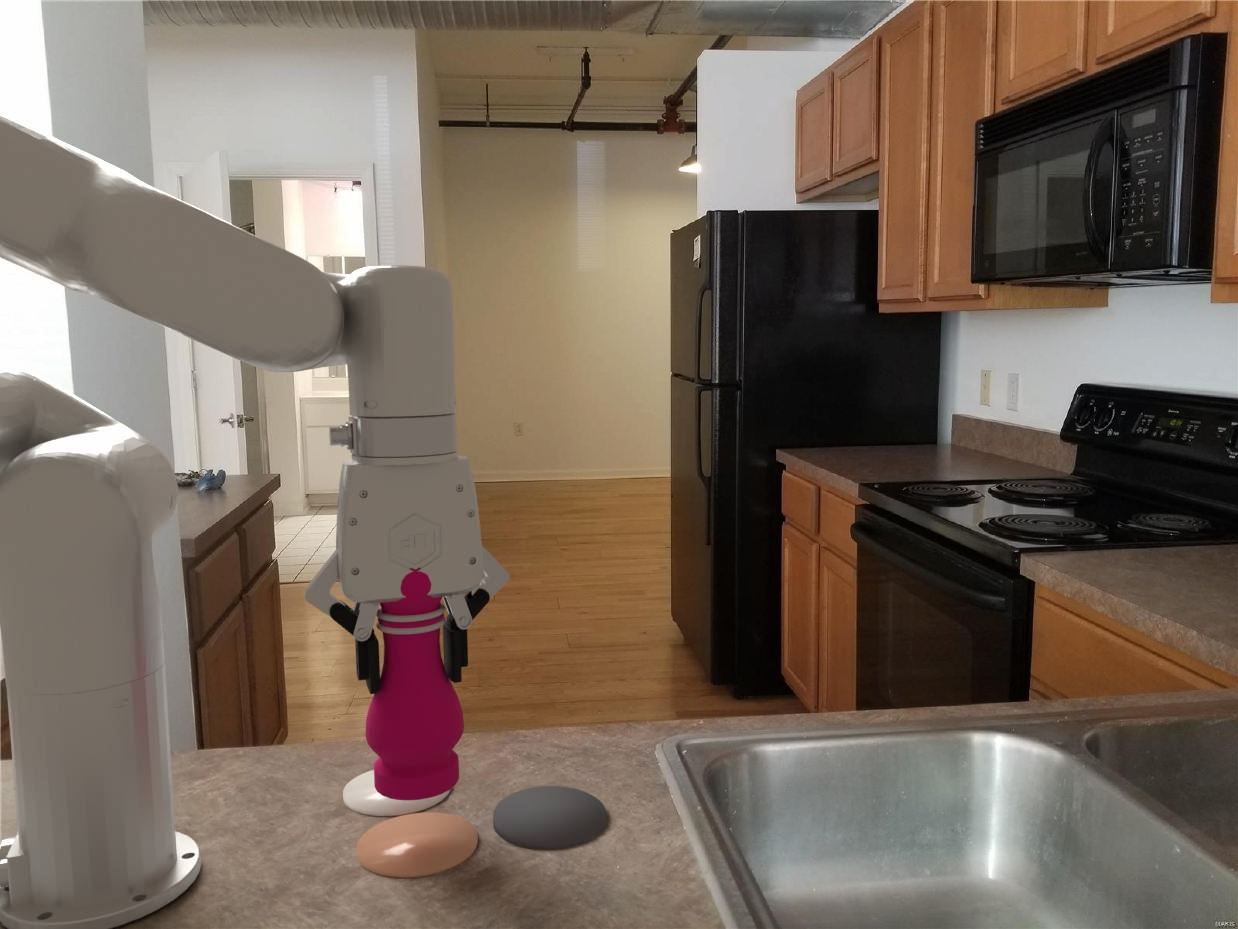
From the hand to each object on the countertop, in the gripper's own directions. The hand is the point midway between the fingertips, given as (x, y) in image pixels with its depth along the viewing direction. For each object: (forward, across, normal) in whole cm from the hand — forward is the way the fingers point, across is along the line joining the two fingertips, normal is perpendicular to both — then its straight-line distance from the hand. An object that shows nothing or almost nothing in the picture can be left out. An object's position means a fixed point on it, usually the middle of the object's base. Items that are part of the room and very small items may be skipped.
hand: (413, 680), depth 71 cm
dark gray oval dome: (+13, +10, 0) cm, 17 cm away
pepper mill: (+8, 0, 0) cm, 8 cm away
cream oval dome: (+13, 0, +10) cm, 17 cm away
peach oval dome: (+13, 0, 0) cm, 13 cm away
